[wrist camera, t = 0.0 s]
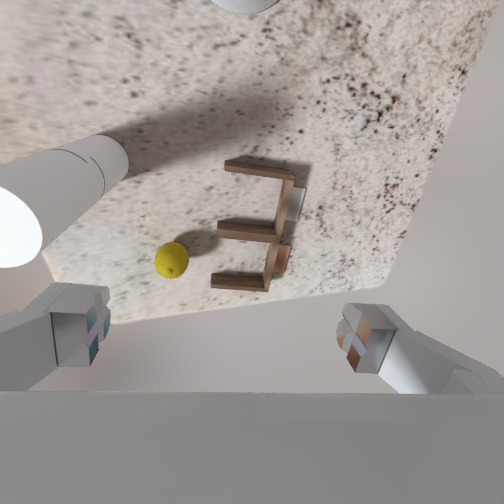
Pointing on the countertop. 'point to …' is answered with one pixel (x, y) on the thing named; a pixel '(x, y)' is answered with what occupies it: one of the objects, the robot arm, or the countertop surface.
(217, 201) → the countertop surface
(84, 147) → the cylindrical container
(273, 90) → the countertop surface
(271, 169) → the bay rack
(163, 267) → the lemon
